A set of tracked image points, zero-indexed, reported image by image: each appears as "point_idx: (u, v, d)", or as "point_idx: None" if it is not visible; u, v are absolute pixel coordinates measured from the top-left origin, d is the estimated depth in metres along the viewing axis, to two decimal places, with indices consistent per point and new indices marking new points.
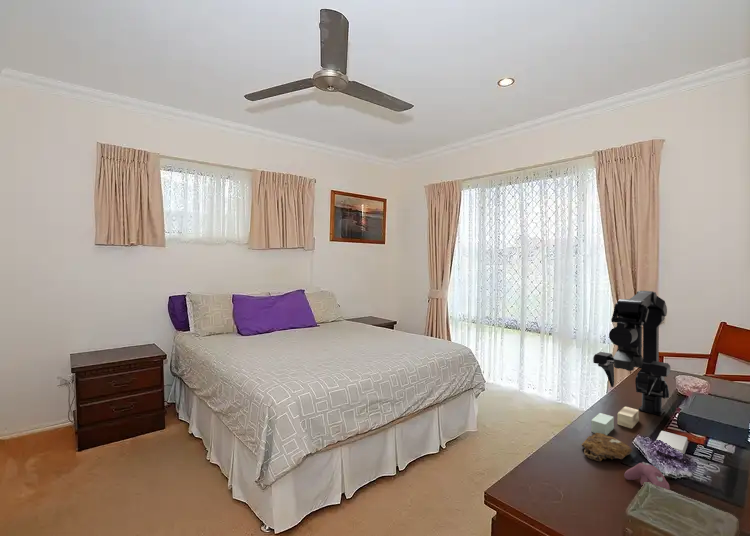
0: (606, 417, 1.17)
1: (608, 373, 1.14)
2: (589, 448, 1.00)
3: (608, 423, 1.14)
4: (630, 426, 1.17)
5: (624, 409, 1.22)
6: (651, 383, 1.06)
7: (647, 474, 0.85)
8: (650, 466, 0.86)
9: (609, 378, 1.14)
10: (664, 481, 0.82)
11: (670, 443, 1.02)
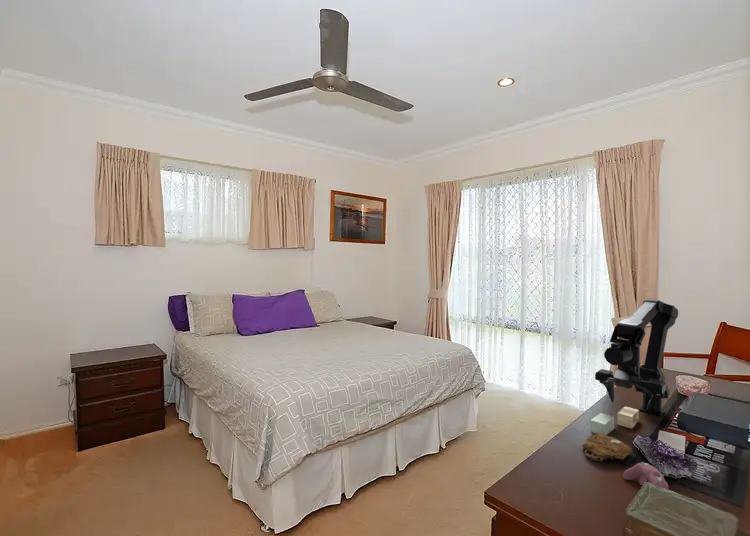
0: (606, 417, 1.16)
1: (609, 390, 1.24)
2: (590, 448, 1.00)
3: (608, 423, 1.14)
4: (630, 426, 1.17)
5: (624, 409, 1.22)
6: (648, 399, 1.15)
7: (646, 474, 0.85)
8: (649, 466, 0.86)
9: (610, 394, 1.24)
10: (663, 481, 0.82)
11: (671, 443, 1.02)
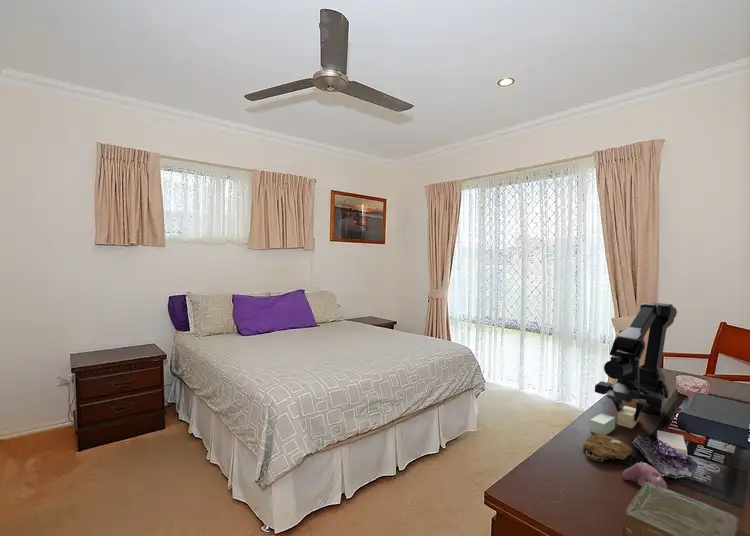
0: (606, 417, 1.16)
1: (617, 404, 1.22)
2: (591, 449, 1.00)
3: (607, 423, 1.14)
4: (630, 425, 1.17)
5: (624, 408, 1.22)
6: (639, 411, 1.17)
7: (645, 474, 0.85)
8: (648, 466, 0.86)
9: (617, 409, 1.22)
10: (662, 481, 0.82)
11: (673, 444, 1.02)
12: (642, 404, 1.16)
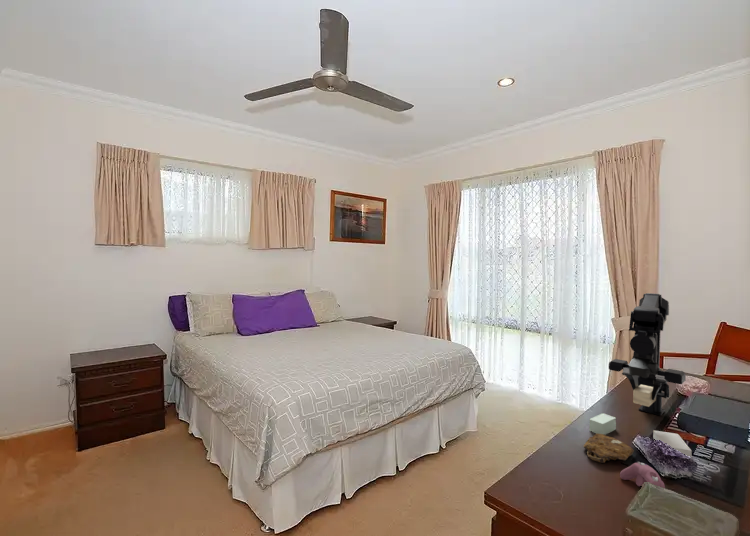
0: (607, 417, 1.16)
1: (632, 382, 1.15)
2: (592, 450, 0.99)
3: (607, 423, 1.14)
4: (647, 403, 1.10)
5: (640, 387, 1.15)
6: (656, 388, 1.10)
7: (642, 474, 0.85)
8: (645, 466, 0.86)
9: (633, 387, 1.15)
10: (659, 481, 0.82)
11: (675, 444, 1.02)
12: (660, 380, 1.08)
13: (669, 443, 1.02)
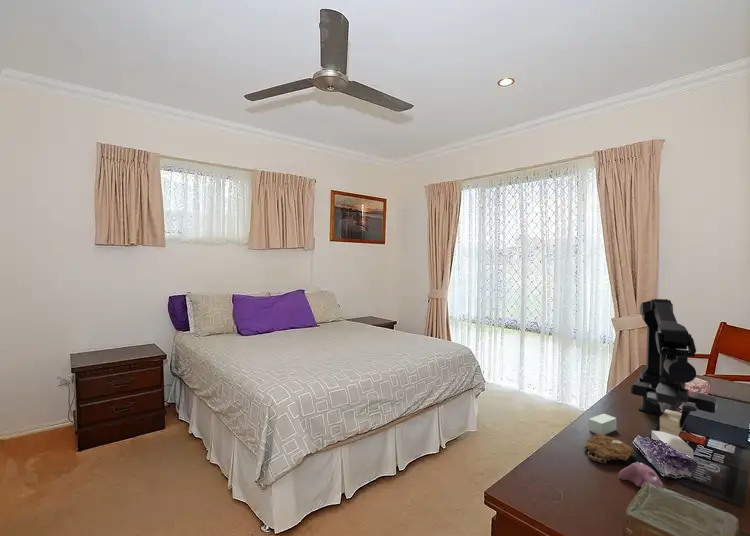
0: (607, 418, 1.16)
1: (658, 408, 1.06)
2: (593, 450, 0.99)
3: (606, 423, 1.14)
4: (676, 433, 1.00)
5: (666, 412, 1.06)
6: (685, 415, 1.01)
7: (641, 474, 0.85)
8: (644, 466, 0.86)
9: (659, 413, 1.06)
10: (658, 481, 0.82)
11: (676, 444, 1.02)
12: (690, 408, 0.99)
13: (671, 443, 1.02)
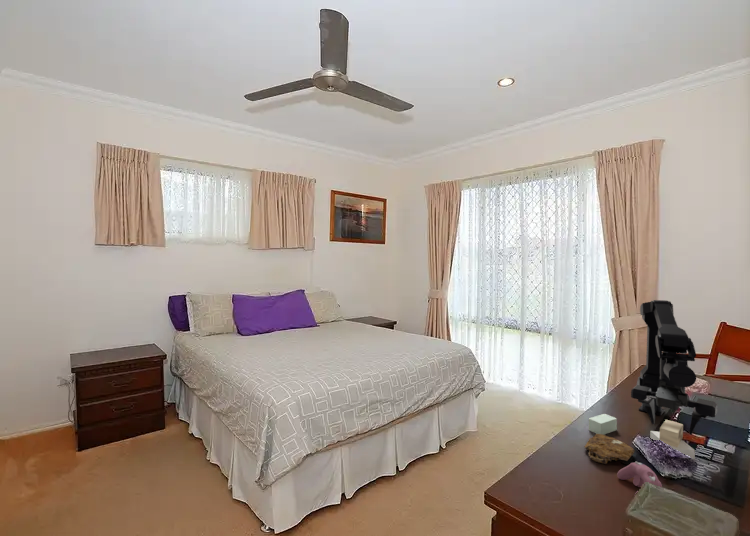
0: (607, 418, 1.16)
1: (649, 410, 1.07)
2: (594, 451, 0.99)
3: (606, 423, 1.14)
4: (675, 444, 1.01)
5: (666, 423, 1.06)
6: (695, 422, 0.99)
7: (640, 474, 0.85)
8: (643, 466, 0.87)
9: (650, 415, 1.07)
10: (657, 481, 0.82)
11: None
12: (700, 414, 0.98)
13: None
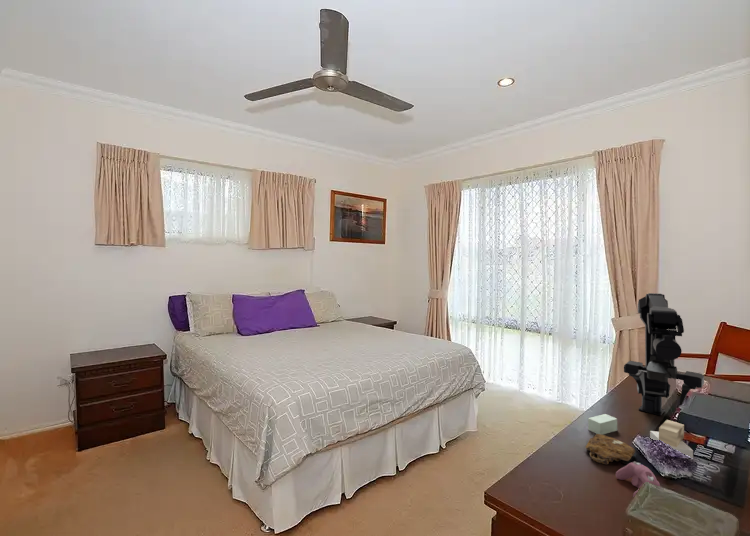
0: (608, 418, 1.16)
1: (639, 383, 1.14)
2: (595, 451, 0.99)
3: (606, 423, 1.14)
4: (674, 443, 1.01)
5: (666, 423, 1.06)
6: (685, 394, 1.06)
7: (638, 474, 0.85)
8: (641, 466, 0.87)
9: (640, 387, 1.14)
10: (655, 481, 0.82)
11: None
12: (689, 386, 1.04)
13: None
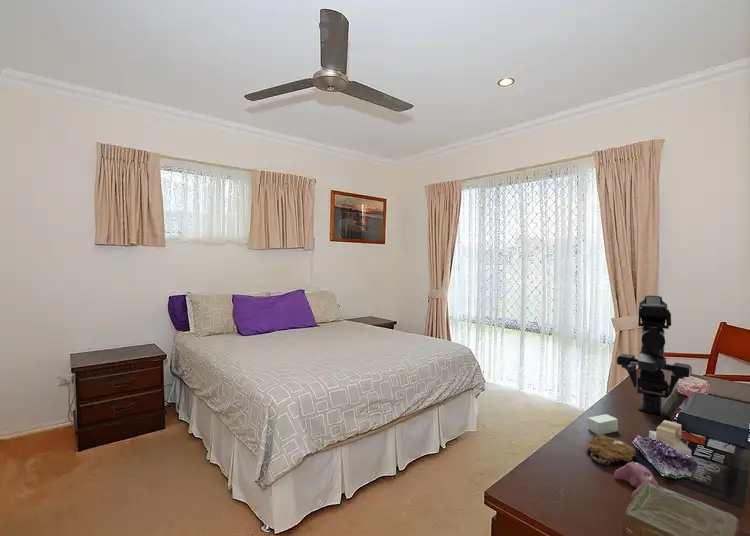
0: (608, 418, 1.16)
1: (631, 374, 1.20)
2: (597, 452, 0.98)
3: (605, 423, 1.14)
4: (672, 444, 1.01)
5: (664, 423, 1.06)
6: (673, 383, 1.12)
7: (636, 474, 0.85)
8: (639, 465, 0.87)
9: (632, 379, 1.20)
10: (653, 480, 0.82)
11: None
12: (678, 376, 1.10)
13: None
